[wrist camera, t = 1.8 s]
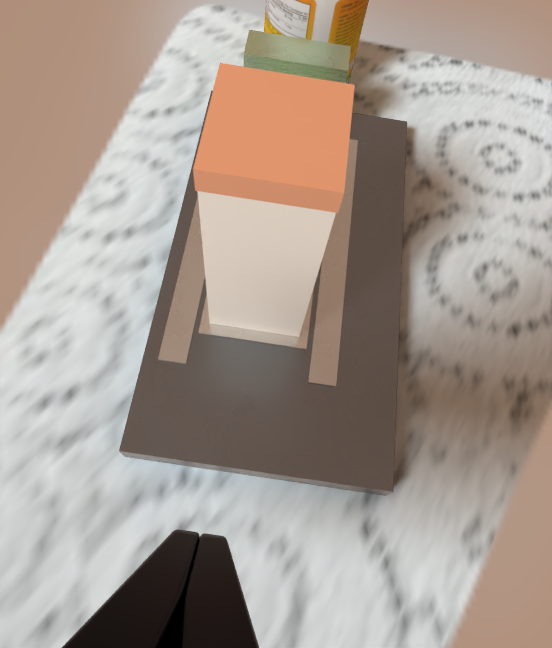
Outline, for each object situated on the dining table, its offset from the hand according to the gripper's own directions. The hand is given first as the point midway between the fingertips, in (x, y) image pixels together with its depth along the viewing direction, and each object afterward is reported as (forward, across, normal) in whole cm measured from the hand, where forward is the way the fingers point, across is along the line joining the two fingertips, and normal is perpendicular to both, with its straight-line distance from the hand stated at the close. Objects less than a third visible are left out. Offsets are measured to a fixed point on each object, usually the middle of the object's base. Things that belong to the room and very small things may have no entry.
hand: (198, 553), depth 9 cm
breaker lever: (+16, 0, 0) cm, 16 cm away
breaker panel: (+19, -1, 0) cm, 19 cm away
